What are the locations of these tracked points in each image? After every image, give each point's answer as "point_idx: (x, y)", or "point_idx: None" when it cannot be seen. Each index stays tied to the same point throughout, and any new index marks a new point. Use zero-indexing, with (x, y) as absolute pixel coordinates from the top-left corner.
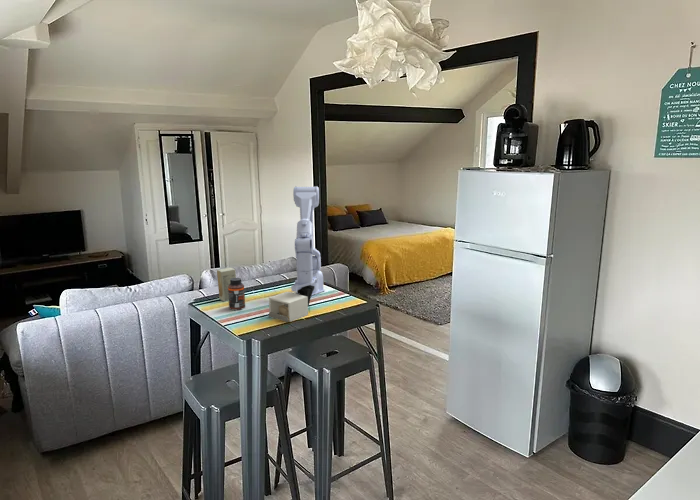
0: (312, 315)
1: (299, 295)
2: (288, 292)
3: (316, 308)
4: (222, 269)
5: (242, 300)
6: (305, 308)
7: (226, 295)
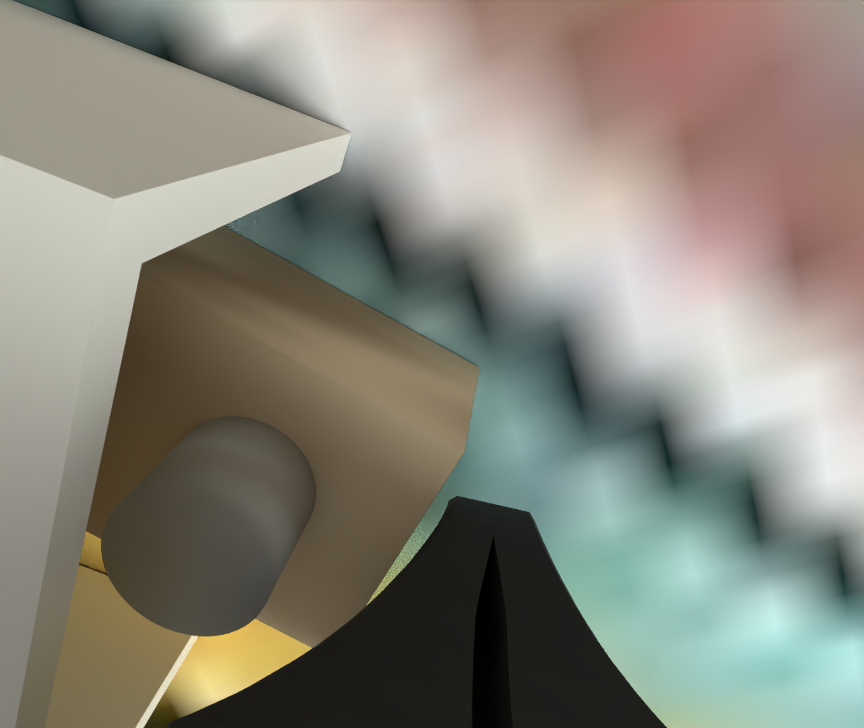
0: (206, 697)
1: None
2: (18, 333)
3: None
4: None
5: None
6: (61, 720)
7: None
